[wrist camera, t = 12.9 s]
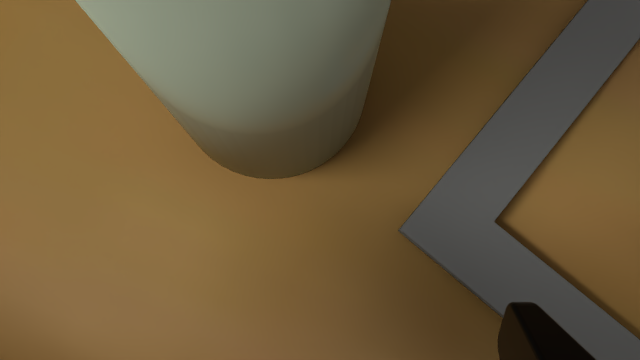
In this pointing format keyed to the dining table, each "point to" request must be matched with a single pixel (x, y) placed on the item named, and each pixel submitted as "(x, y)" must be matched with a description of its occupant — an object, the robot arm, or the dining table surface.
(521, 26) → the dining table surface
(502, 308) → the dot frame
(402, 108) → the dining table surface
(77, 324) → the dining table surface
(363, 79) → the sage cup
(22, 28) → the dining table surface
